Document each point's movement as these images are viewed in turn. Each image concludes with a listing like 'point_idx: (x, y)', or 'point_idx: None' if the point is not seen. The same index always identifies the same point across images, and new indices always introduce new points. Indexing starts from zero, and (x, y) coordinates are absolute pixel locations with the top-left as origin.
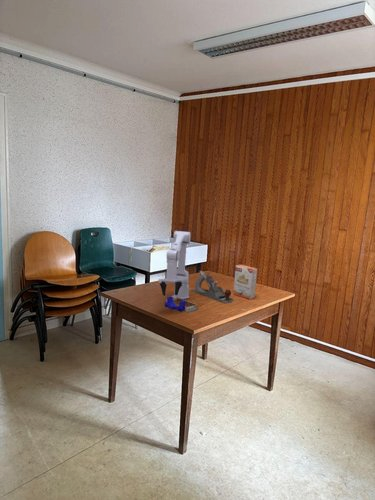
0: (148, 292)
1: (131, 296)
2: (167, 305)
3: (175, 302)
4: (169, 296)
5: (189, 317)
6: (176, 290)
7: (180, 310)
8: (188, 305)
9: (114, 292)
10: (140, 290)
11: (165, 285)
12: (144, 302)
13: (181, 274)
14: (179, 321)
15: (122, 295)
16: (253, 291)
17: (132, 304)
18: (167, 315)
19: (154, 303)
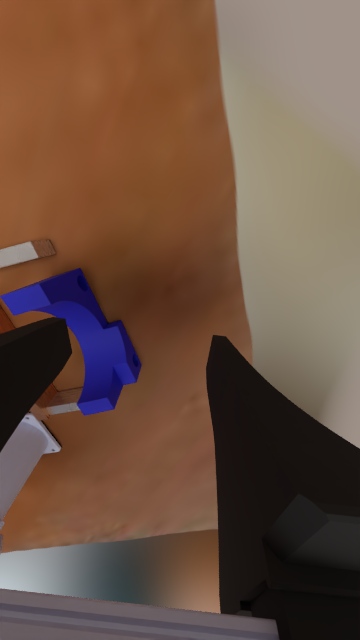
0: (131, 497)
1: (211, 485)
2: (132, 358)
3: (65, 391)
4: (95, 411)
5: (63, 126)
6: (23, 365)
7: (80, 285)
8: (5, 327)
9: None
10: (150, 513)
11: (326, 472)
12: (202, 431)
13: None
14: (182, 62)
15: None
16: None
17: None
18: (197, 239)
19: (167, 412)
